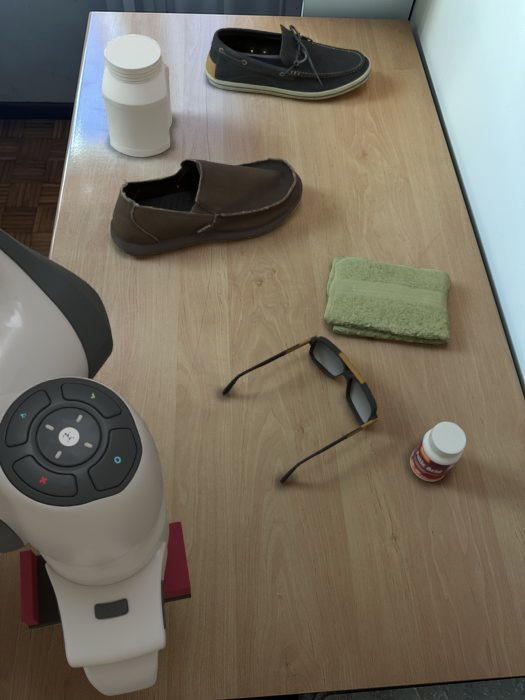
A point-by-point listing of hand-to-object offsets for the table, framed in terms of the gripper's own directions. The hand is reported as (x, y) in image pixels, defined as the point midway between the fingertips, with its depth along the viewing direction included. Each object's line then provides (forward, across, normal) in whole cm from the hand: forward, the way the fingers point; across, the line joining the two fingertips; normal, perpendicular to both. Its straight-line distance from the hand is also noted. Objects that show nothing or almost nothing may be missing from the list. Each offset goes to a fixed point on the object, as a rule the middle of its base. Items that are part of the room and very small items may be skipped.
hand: (124, 572), depth 59 cm
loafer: (+15, -53, +17) cm, 57 cm away
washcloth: (+15, -34, +39) cm, 53 cm away
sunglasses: (+15, -20, +23) cm, 34 cm away
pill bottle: (+15, -10, +37) cm, 41 cm away
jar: (+15, -74, +9) cm, 76 cm away
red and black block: (+2, 0, -2) cm, 2 cm away
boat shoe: (+15, -84, +36) cm, 92 cm away
